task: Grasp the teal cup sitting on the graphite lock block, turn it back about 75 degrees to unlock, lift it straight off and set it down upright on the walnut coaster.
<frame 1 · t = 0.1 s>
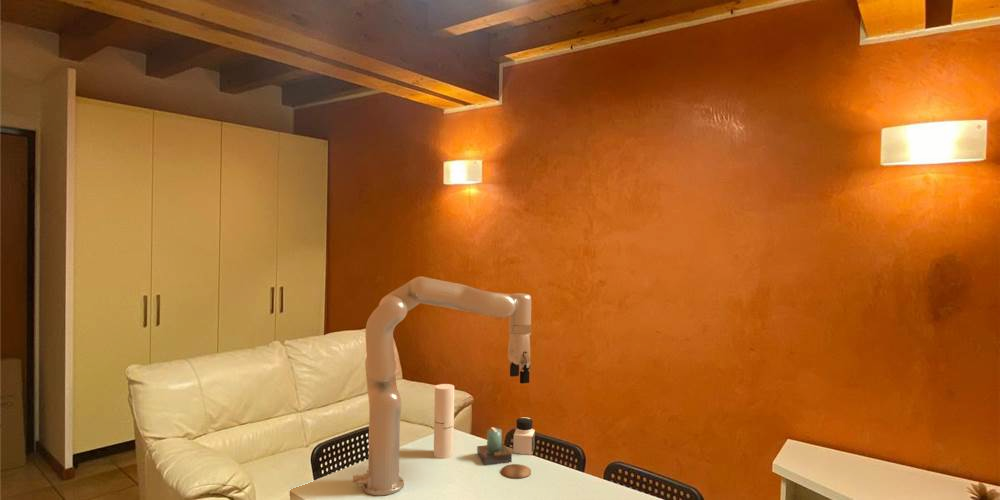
hand: (519, 379, 172), 31 cm above the table, fingers open, 9 cm apart
coaster: (516, 472, 170), on the table
medicine bottle: (524, 451, 189), on the table
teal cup: (494, 450, 182), point 3 cm above the table, touching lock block
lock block: (494, 458, 182), on the table
cylindrical container: (443, 455, 184), on the table
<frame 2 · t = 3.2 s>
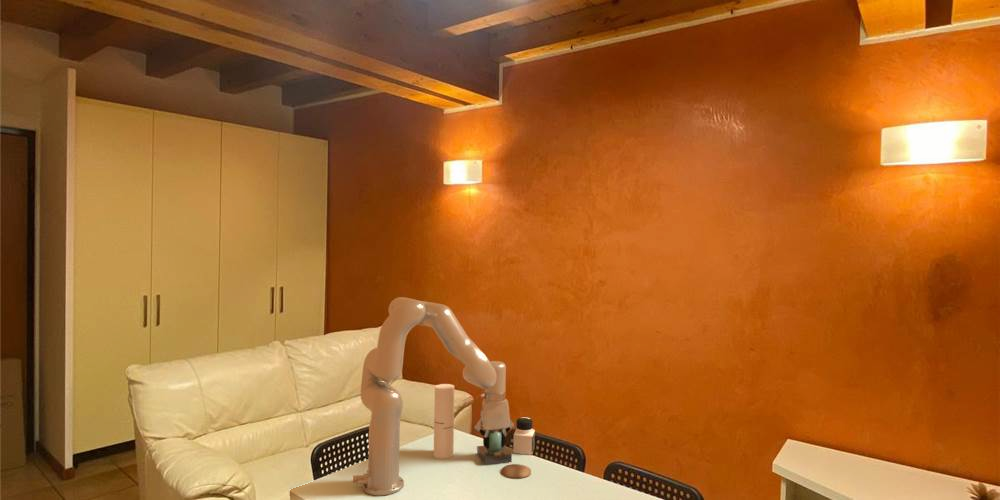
hand: (494, 446, 182), 4 cm above the table, fingers closed on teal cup, 5 cm apart
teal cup: (494, 450, 182), point 3 cm above the table, touching gripper, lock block
everything else where it was.
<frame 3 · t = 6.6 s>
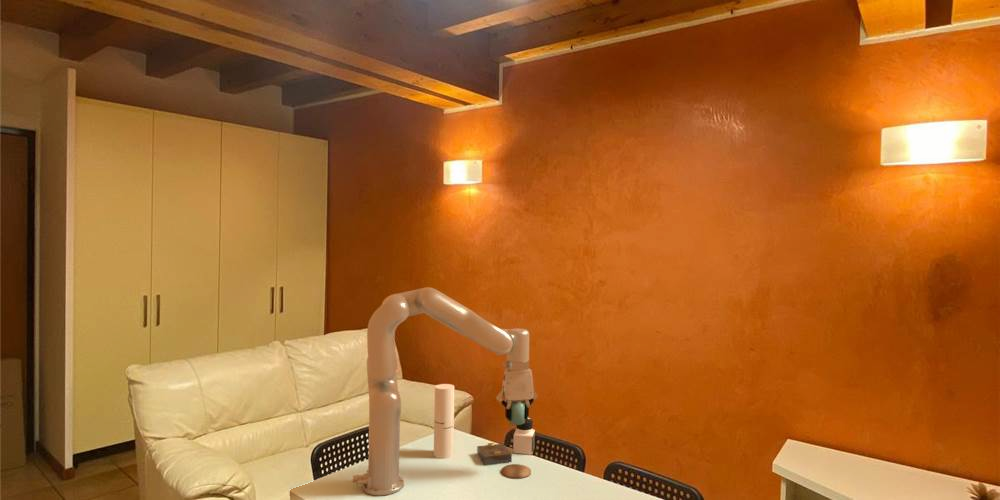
hand: (516, 418, 170), 18 cm above the table, fingers closed on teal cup, 5 cm apart
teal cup: (516, 422, 171), point 17 cm above the table, touching gripper
everything else where it was.
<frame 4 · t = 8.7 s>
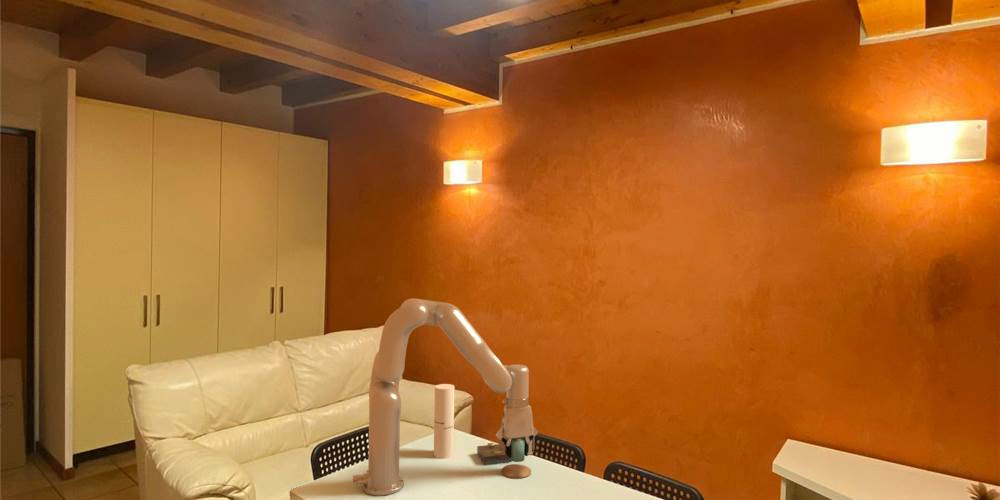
hand: (516, 454, 170), 6 cm above the table, fingers closed on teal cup, 5 cm apart
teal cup: (516, 458, 170), point 4 cm above the table, touching gripper
everything else where it was.
when the fingers open (3 cm above the table, at t = 10.2 s): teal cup drops 1 cm, resting on coaster.
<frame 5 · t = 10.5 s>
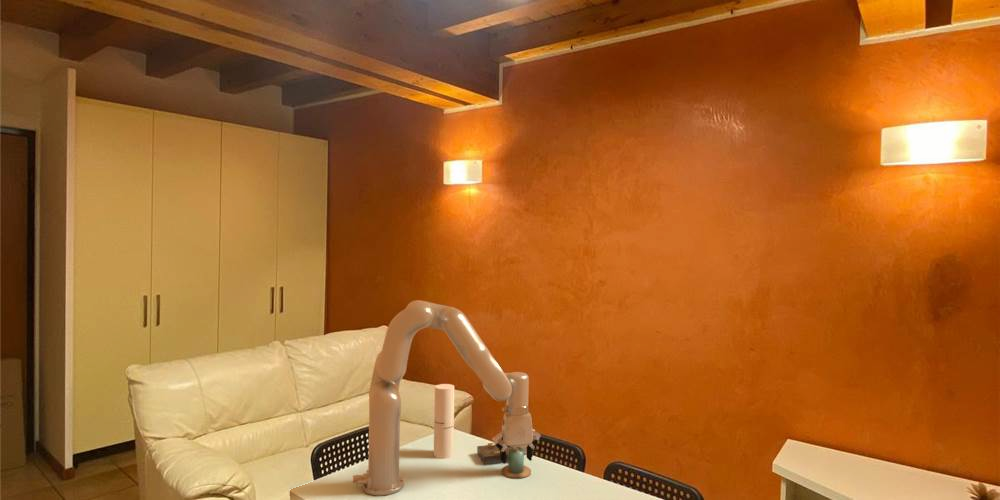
hand: (516, 460, 170), 4 cm above the table, fingers open, 8 cm apart
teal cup: (515, 470, 170), point 1 cm above the table, touching coaster
everything else where it was.
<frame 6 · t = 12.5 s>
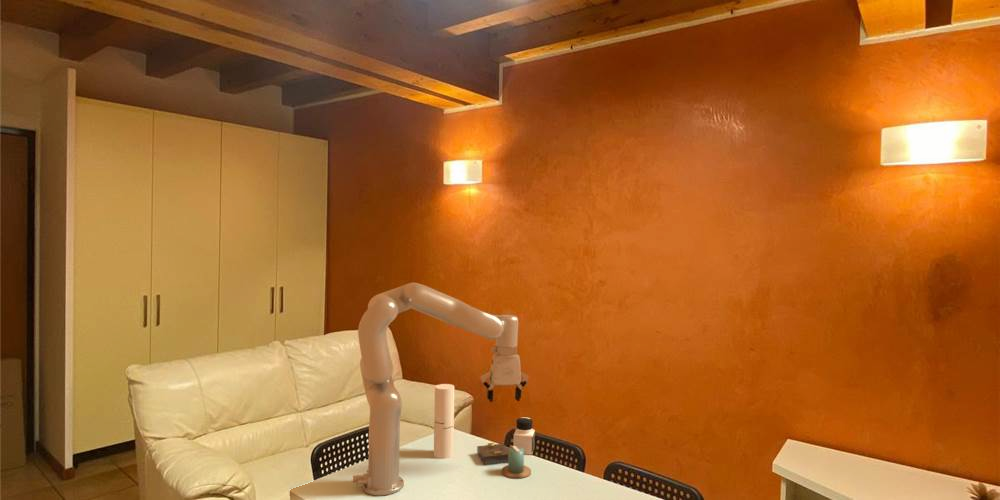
hand: (504, 400, 173), 23 cm above the table, fingers open, 9 cm apart
nothing on the table moved.
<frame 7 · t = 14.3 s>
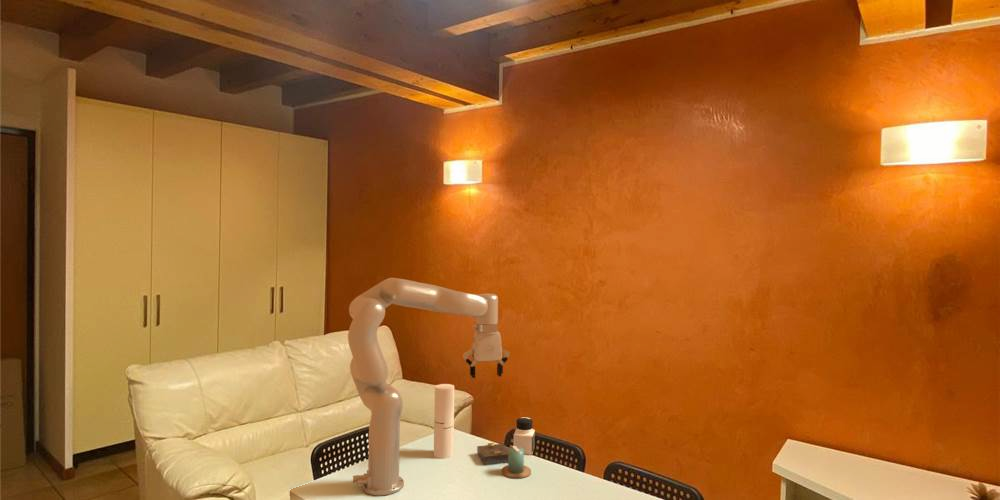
hand: (486, 376, 179), 30 cm above the table, fingers open, 9 cm apart
nothing on the table moved.
at the end: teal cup 0.1 cm from the coaster (horizontally); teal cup tilted 0°; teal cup point 0.6 cm above the table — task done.
